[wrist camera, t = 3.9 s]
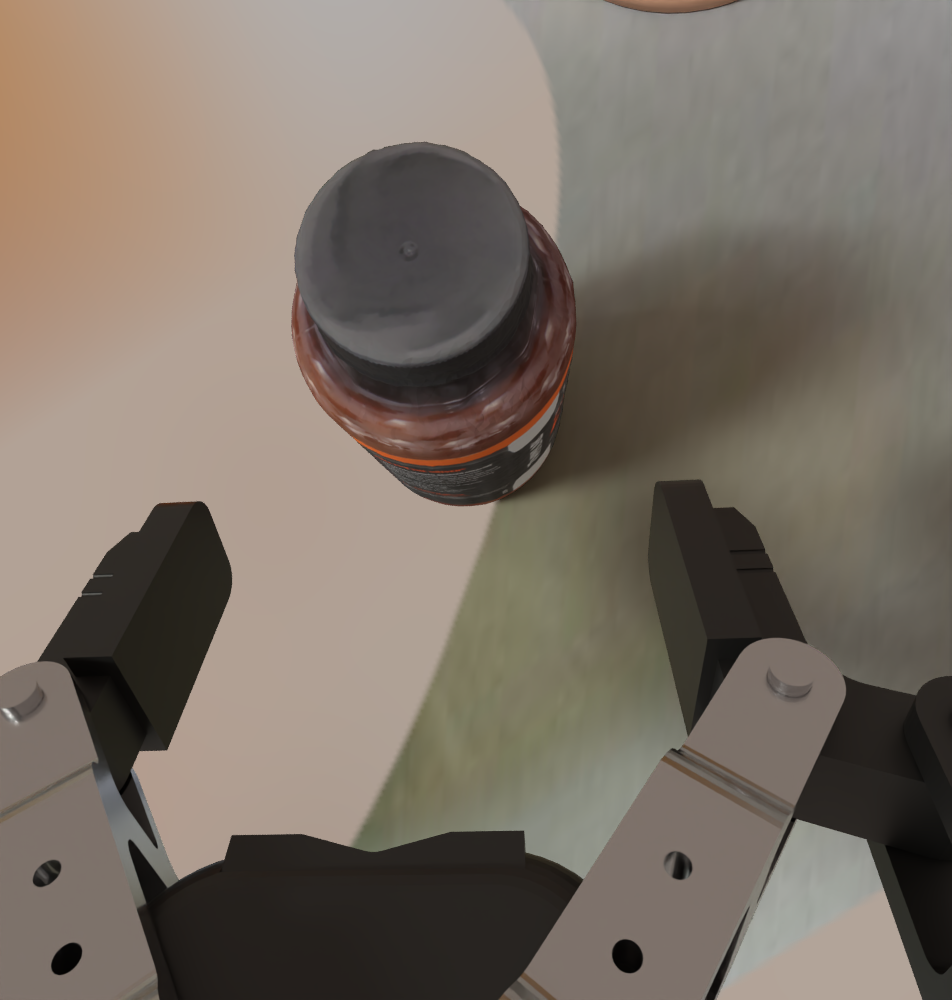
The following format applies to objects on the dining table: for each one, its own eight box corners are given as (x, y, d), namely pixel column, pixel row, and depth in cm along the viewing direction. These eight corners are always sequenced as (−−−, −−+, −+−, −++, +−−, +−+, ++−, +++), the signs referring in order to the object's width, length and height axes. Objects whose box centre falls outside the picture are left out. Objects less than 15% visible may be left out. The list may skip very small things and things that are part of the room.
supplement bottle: (588, 467, 22) (652, 347, 11) (412, 537, 23) (302, 488, 11) (517, 300, 23) (511, 33, 12) (348, 368, 23) (186, 166, 12)
